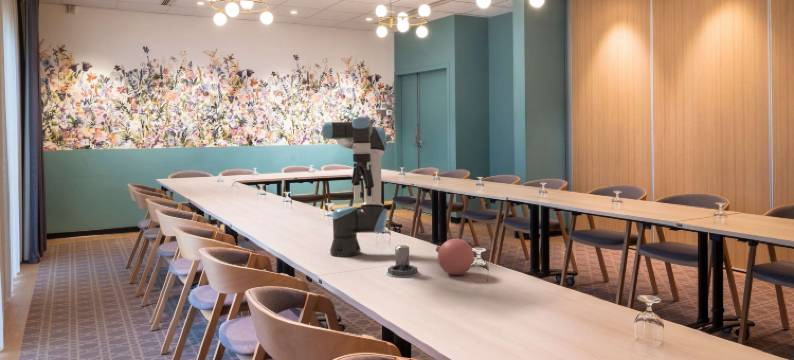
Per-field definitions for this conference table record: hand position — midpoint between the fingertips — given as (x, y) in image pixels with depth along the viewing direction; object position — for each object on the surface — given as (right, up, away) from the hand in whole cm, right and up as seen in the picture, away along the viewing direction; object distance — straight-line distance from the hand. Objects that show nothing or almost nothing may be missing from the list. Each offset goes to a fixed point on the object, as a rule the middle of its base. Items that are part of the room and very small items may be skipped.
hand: (362, 201), depth 269 cm
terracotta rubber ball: (+39, -31, -4) cm, 50 cm away
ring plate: (+17, -31, -3) cm, 35 cm away
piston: (+17, -30, -3) cm, 35 cm away
